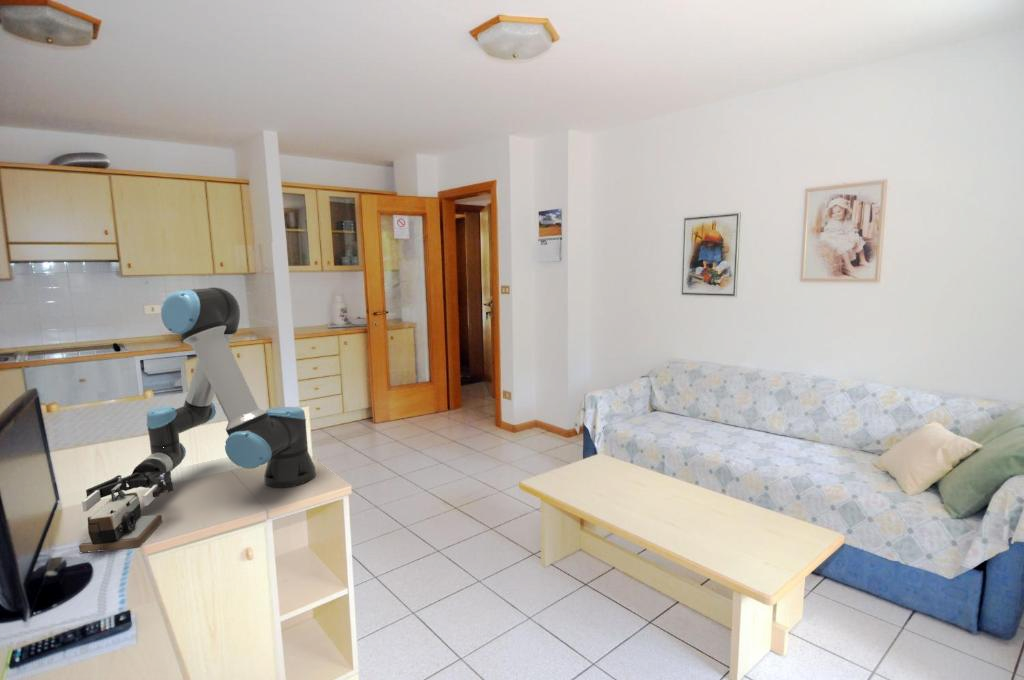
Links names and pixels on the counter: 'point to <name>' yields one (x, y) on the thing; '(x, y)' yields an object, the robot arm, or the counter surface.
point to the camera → (114, 517)
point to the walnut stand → (127, 536)
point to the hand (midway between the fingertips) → (115, 503)
